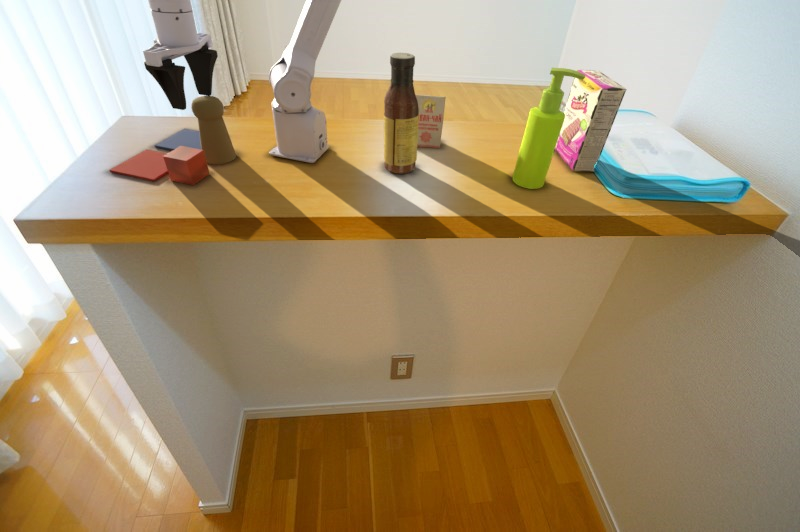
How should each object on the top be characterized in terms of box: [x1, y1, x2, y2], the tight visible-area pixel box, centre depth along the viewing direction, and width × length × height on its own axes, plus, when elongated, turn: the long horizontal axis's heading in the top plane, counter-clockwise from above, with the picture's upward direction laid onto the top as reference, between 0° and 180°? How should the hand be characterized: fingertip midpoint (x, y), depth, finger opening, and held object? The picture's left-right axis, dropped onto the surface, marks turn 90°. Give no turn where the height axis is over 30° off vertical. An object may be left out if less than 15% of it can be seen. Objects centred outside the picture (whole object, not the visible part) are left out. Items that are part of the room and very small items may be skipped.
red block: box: [163, 146, 210, 186], centre depth 71 cm, size 4×4×4 cm
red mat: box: [108, 149, 169, 182], centre depth 74 cm, size 9×9×1 cm
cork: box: [190, 95, 237, 165], centre depth 75 cm, size 6×6×11 cm
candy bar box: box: [554, 69, 627, 173], centre depth 82 cm, size 11×5×16 cm, turn 6°
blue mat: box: [153, 128, 201, 151], centre depth 83 cm, size 9×9×1 cm
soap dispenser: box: [511, 67, 585, 190], centre depth 72 cm, size 6×7×20 cm
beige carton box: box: [415, 94, 447, 149], centre depth 86 cm, size 4×7×10 cm, turn 87°
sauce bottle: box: [383, 52, 419, 175], centre depth 73 cm, size 6×6×20 cm
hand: (192, 101), depth 71 cm, fingers open, 7 cm apart
